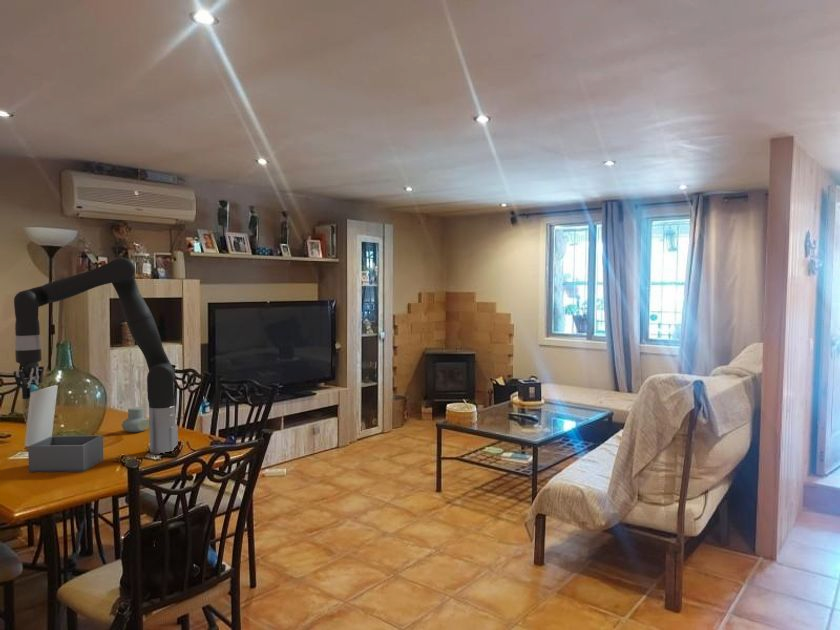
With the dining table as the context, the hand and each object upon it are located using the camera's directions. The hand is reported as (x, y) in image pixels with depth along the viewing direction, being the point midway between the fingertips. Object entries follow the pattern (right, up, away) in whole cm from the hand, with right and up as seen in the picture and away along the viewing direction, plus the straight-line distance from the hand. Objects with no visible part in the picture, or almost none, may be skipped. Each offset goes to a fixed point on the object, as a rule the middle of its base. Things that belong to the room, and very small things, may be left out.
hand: (30, 397), depth 207 cm
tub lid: (+4, -6, 0) cm, 7 cm away
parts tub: (+12, -24, +2) cm, 27 cm away
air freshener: (+12, -22, +53) cm, 58 cm away
